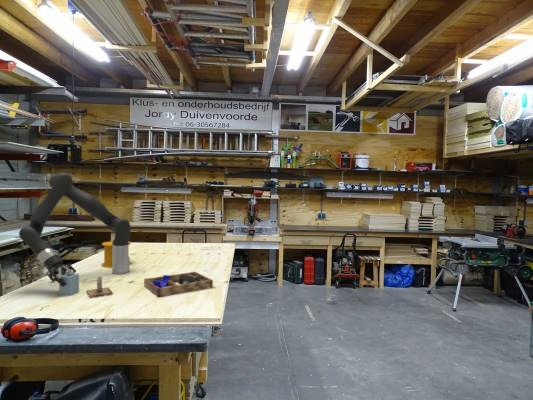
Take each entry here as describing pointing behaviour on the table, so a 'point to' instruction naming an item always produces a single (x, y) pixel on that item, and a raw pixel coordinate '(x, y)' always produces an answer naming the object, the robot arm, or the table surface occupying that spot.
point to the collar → (69, 284)
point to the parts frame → (176, 288)
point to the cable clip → (162, 282)
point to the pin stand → (99, 290)
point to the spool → (108, 254)
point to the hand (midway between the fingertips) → (70, 283)
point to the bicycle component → (189, 279)
